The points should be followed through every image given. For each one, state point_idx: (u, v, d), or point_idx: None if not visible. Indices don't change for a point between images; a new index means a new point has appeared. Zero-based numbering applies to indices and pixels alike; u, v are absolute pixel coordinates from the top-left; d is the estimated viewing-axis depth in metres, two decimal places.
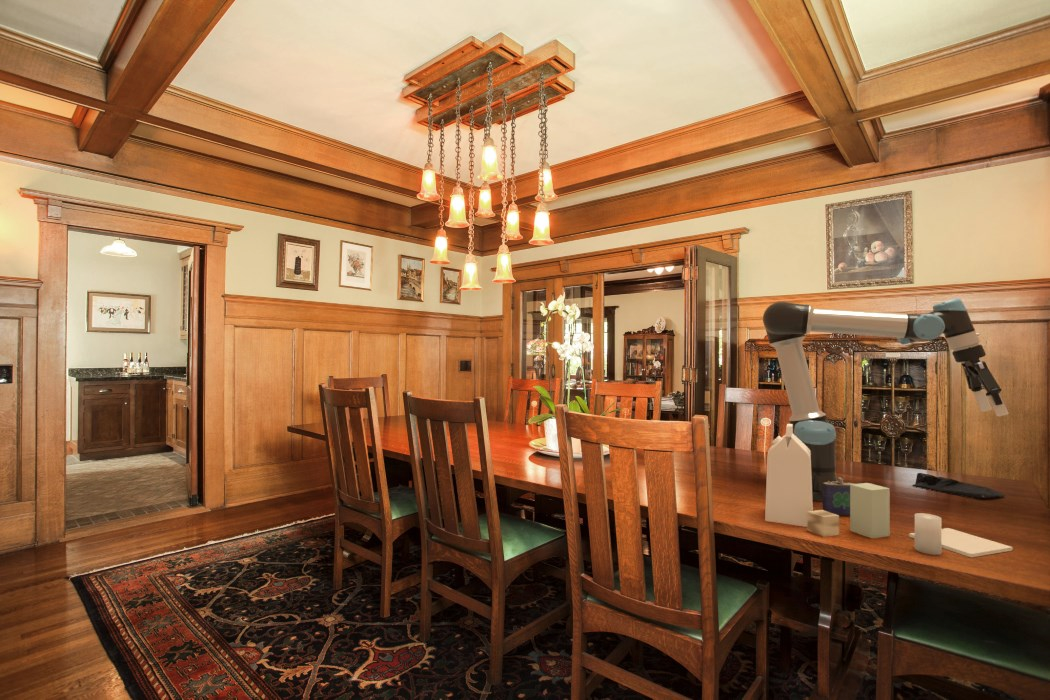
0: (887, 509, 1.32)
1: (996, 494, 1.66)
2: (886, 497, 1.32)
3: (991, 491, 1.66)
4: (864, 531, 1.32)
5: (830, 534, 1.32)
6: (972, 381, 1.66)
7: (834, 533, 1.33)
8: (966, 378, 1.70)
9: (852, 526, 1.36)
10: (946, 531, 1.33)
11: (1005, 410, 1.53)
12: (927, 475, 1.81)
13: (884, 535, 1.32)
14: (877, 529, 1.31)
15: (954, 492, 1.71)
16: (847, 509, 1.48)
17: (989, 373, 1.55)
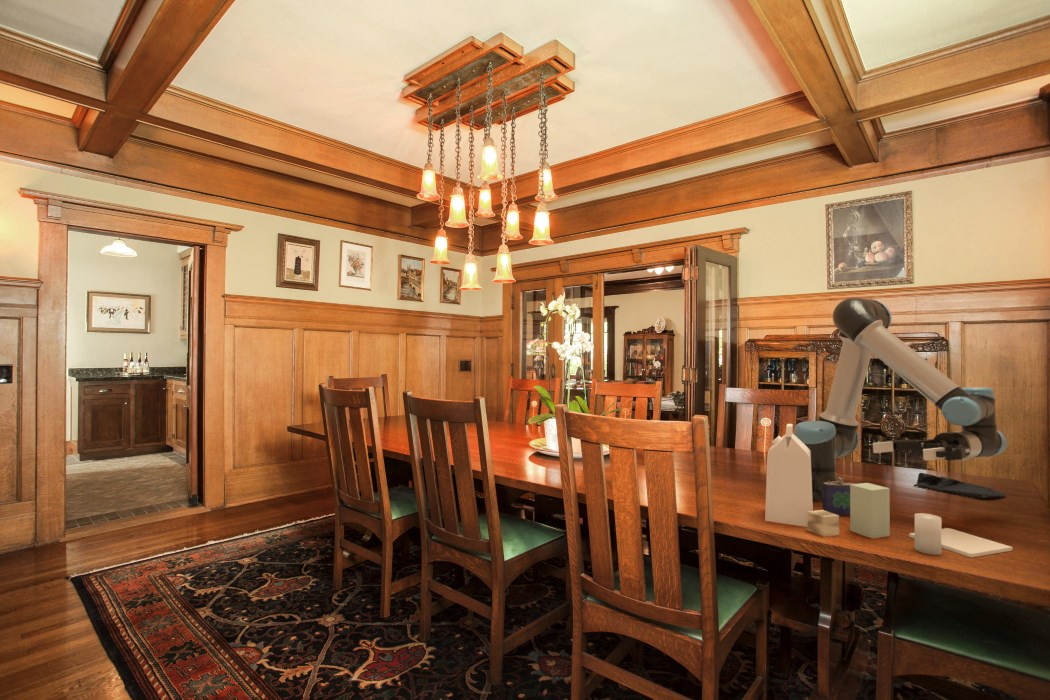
0: (887, 509, 1.32)
1: (997, 494, 1.66)
2: (886, 497, 1.32)
3: (992, 491, 1.66)
4: (864, 531, 1.32)
5: (830, 534, 1.32)
6: (909, 442, 1.45)
7: (834, 533, 1.33)
8: (898, 440, 1.49)
9: (852, 526, 1.36)
10: (946, 531, 1.33)
11: (930, 458, 1.31)
12: (928, 475, 1.81)
13: (884, 535, 1.32)
14: (877, 529, 1.31)
15: (955, 492, 1.71)
16: (847, 509, 1.48)
17: (964, 455, 1.34)
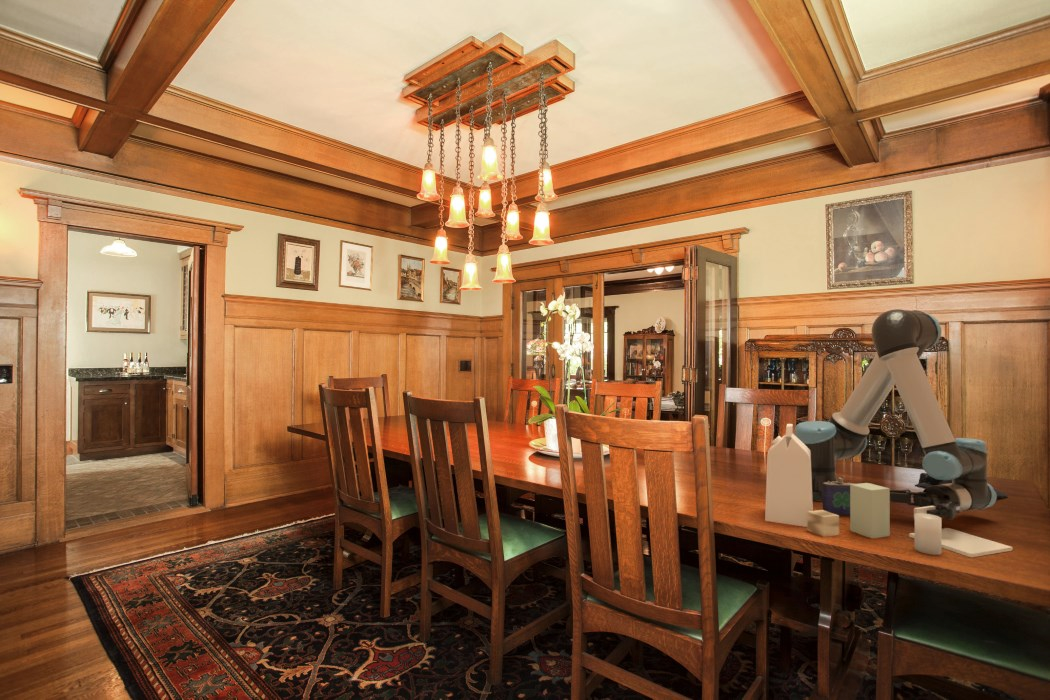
0: (887, 509, 1.32)
1: (999, 494, 1.66)
2: (886, 497, 1.32)
3: None
4: (864, 531, 1.32)
5: (830, 534, 1.32)
6: (899, 494, 1.43)
7: (834, 533, 1.33)
8: None
9: (852, 526, 1.36)
10: (946, 531, 1.33)
11: None
12: None
13: (884, 535, 1.32)
14: (877, 529, 1.31)
15: None
16: (847, 509, 1.48)
17: (955, 513, 1.32)
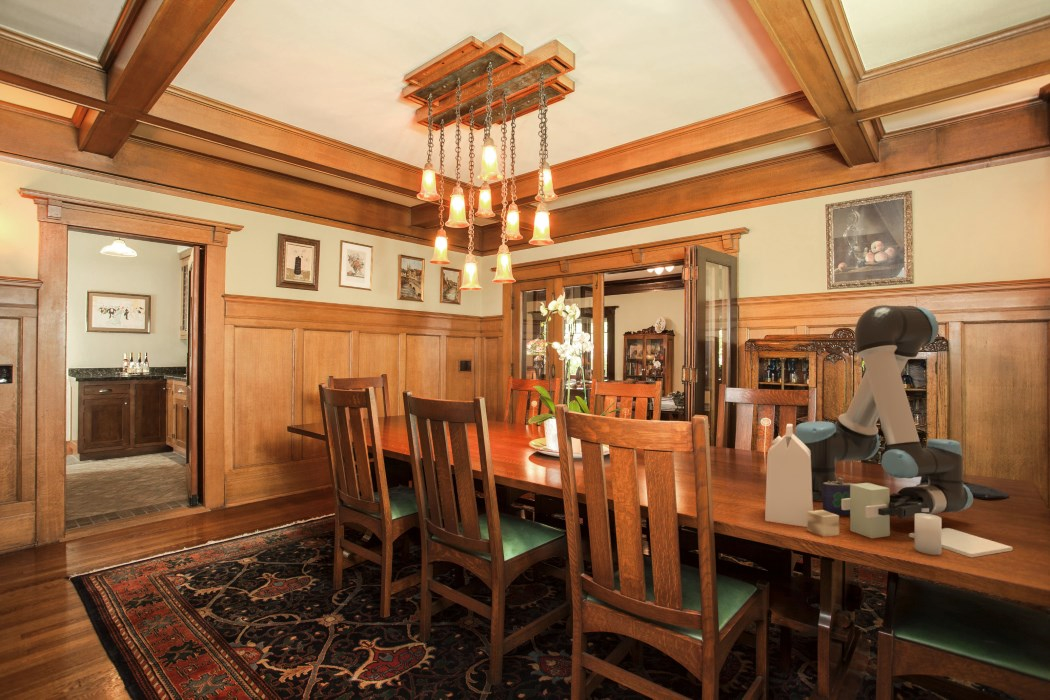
0: None
1: (1000, 494, 1.65)
2: (886, 497, 1.32)
3: (995, 491, 1.66)
4: (864, 530, 1.32)
5: (830, 534, 1.32)
6: None
7: (834, 533, 1.33)
8: None
9: (852, 526, 1.36)
10: (946, 531, 1.33)
11: (871, 515, 1.30)
12: None
13: (884, 535, 1.32)
14: (877, 529, 1.31)
15: None
16: None
17: None
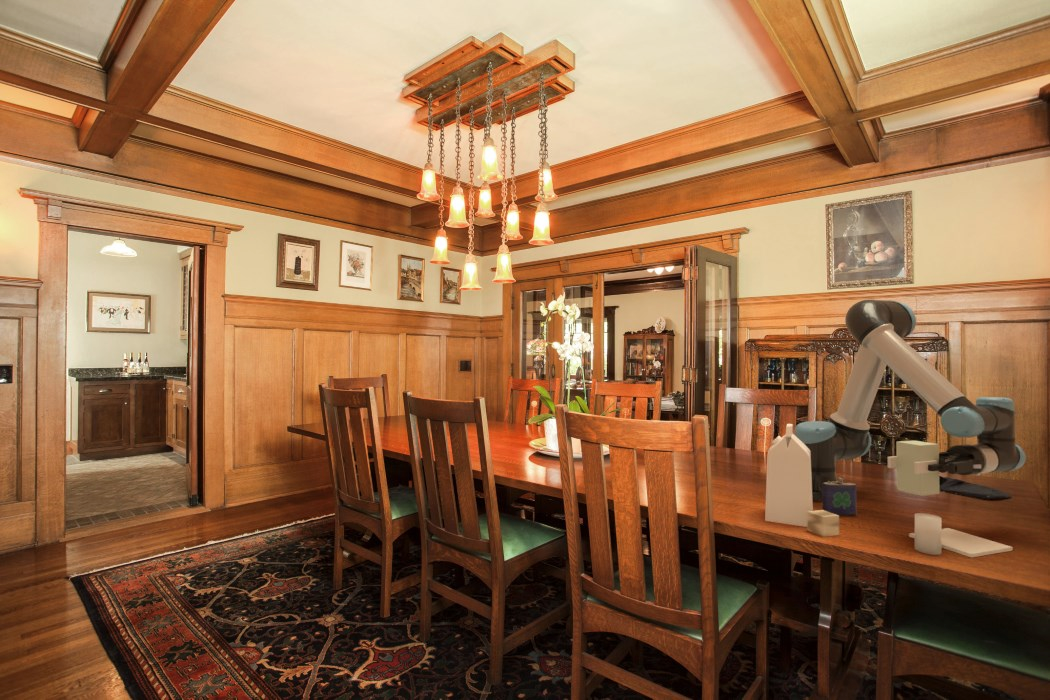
0: None
1: (1002, 495, 1.65)
2: (935, 453, 1.27)
3: (997, 492, 1.66)
4: (913, 488, 1.27)
5: (830, 534, 1.32)
6: None
7: (834, 533, 1.33)
8: None
9: (899, 485, 1.31)
10: (946, 531, 1.33)
11: (921, 471, 1.25)
12: None
13: (934, 493, 1.27)
14: (926, 486, 1.26)
15: (959, 492, 1.70)
16: (847, 509, 1.48)
17: (969, 470, 1.26)
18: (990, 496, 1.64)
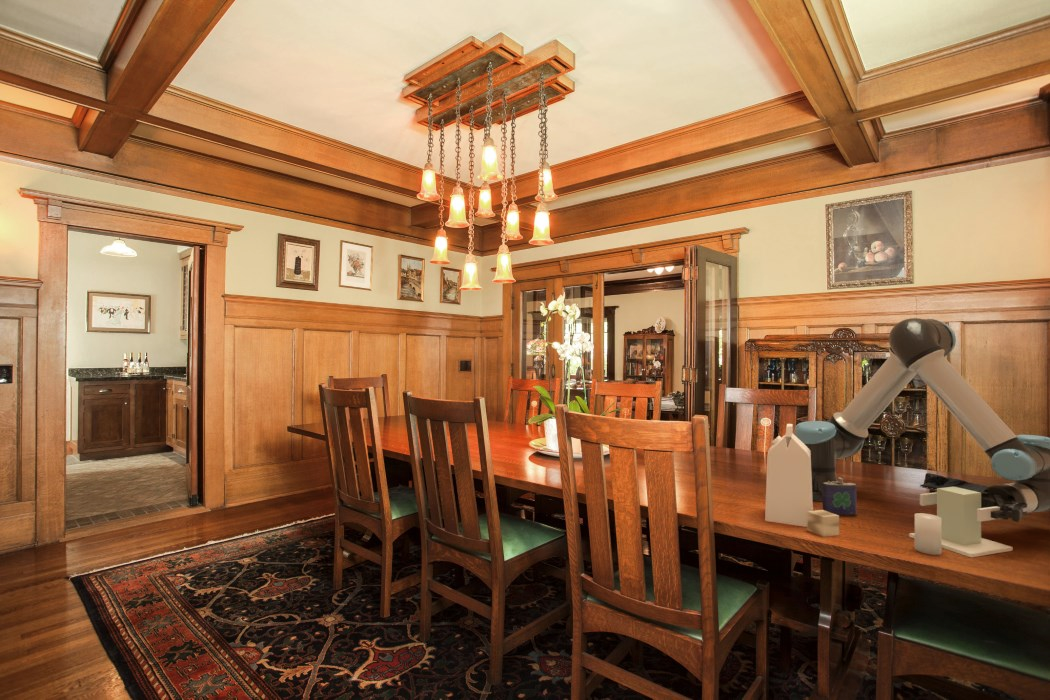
0: None
1: None
2: (978, 502, 1.25)
3: None
4: (954, 537, 1.25)
5: (830, 534, 1.32)
6: None
7: (834, 533, 1.33)
8: None
9: None
10: None
11: (984, 519, 1.20)
12: (935, 475, 1.81)
13: (976, 542, 1.25)
14: (969, 536, 1.24)
15: None
16: (847, 509, 1.48)
17: (1022, 515, 1.23)
18: None
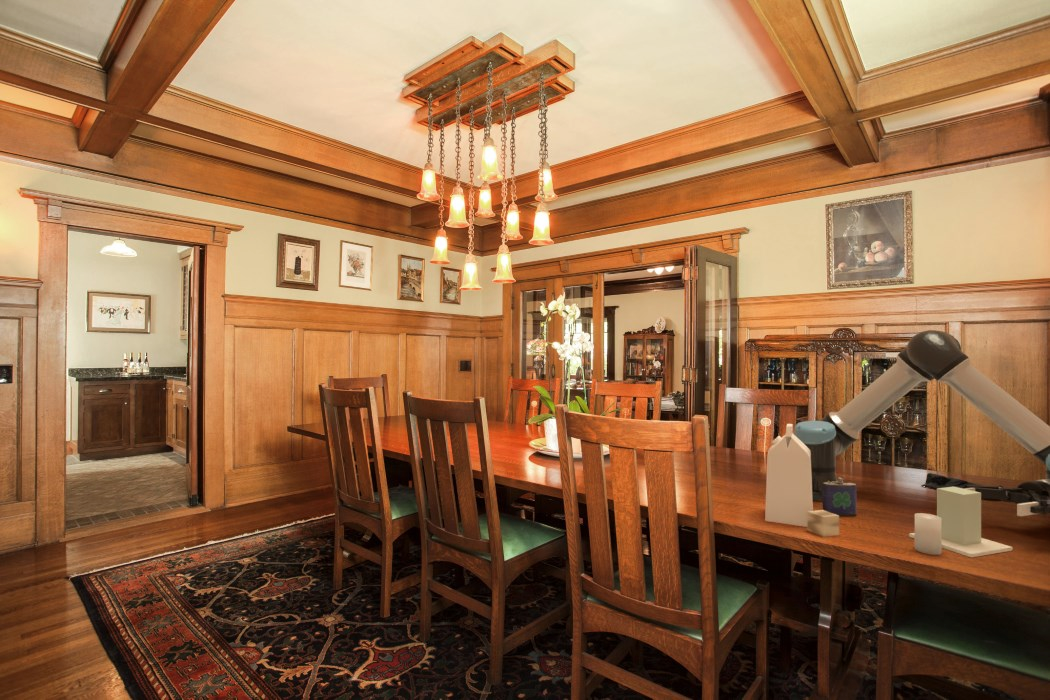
0: (979, 514, 1.25)
1: None
2: (978, 502, 1.25)
3: None
4: (954, 537, 1.25)
5: (830, 534, 1.32)
6: (992, 490, 1.38)
7: (834, 533, 1.33)
8: None
9: None
10: None
11: (1024, 514, 1.24)
12: (937, 475, 1.81)
13: (976, 542, 1.25)
14: (969, 536, 1.24)
15: None
16: (847, 509, 1.48)
17: None
18: None
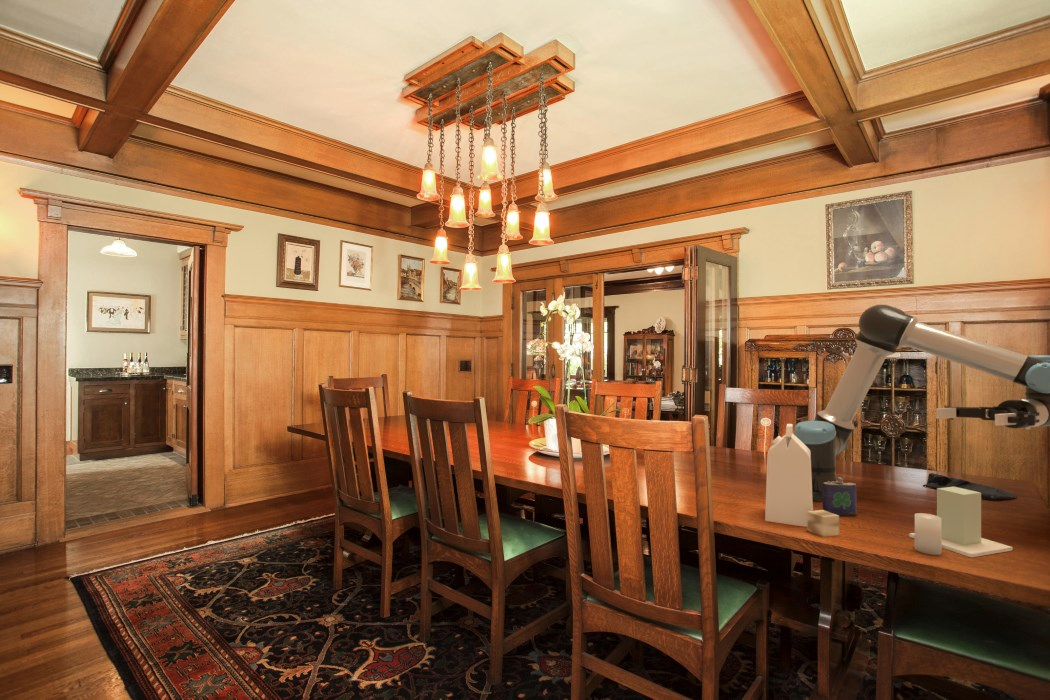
0: (979, 514, 1.25)
1: (1007, 495, 1.65)
2: (978, 502, 1.25)
3: (1002, 492, 1.65)
4: (954, 537, 1.25)
5: (830, 534, 1.32)
6: (973, 409, 1.41)
7: (834, 533, 1.33)
8: (960, 407, 1.45)
9: None
10: None
11: (1001, 423, 1.27)
12: (938, 475, 1.80)
13: (976, 542, 1.25)
14: (969, 536, 1.24)
15: None
16: (847, 509, 1.48)
17: (1035, 421, 1.30)
18: (994, 496, 1.63)
